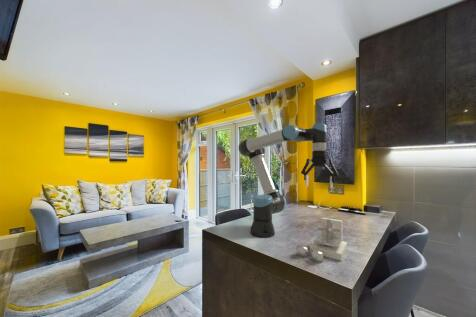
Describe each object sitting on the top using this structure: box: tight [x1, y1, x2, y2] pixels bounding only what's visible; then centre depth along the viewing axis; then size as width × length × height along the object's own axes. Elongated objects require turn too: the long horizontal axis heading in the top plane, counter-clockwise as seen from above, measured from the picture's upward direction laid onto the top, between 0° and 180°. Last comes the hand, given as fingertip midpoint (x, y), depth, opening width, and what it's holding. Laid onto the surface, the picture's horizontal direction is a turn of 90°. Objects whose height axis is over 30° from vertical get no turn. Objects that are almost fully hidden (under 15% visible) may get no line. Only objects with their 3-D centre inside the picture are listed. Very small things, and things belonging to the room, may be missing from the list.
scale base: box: [309, 217, 348, 261], centre depth 102 cm, size 14×18×14 cm
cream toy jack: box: [317, 218, 340, 240], centre depth 101 cm, size 10×10×10 cm
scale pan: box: [313, 233, 342, 248], centre depth 101 cm, size 11×11×1 cm
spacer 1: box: [296, 244, 309, 258], centre depth 96 cm, size 5×5×4 cm
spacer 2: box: [311, 249, 324, 264], centre depth 91 cm, size 5×5×4 cm
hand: (318, 187), depth 116 cm, fingers open, 13 cm apart
